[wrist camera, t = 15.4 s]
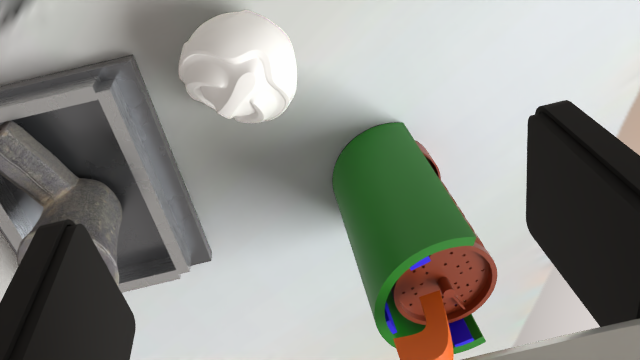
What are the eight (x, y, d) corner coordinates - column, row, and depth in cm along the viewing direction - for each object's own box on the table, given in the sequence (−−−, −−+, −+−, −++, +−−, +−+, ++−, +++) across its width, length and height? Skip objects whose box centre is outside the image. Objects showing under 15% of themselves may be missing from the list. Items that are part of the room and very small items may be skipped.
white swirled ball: (167, 67, 40) (154, 111, 34) (214, -26, 37) (211, 3, 31) (262, 115, 43) (267, 164, 37) (313, 33, 40) (328, 71, 34)
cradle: (-72, 103, 39) (-94, 122, 36) (133, 54, 39) (125, 70, 37) (50, 290, 49) (39, 316, 47) (211, 252, 50) (210, 275, 47)
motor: (449, 196, 50) (558, 377, 33) (361, 238, 51) (425, 434, 34) (408, 108, 45) (513, 271, 28) (311, 158, 46) (357, 343, 29)
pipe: (33, 98, 39) (-9, 153, 32) (155, 215, 45) (141, 281, 39) (-29, 143, 40) (-82, 205, 33) (98, 251, 46) (76, 321, 40)
